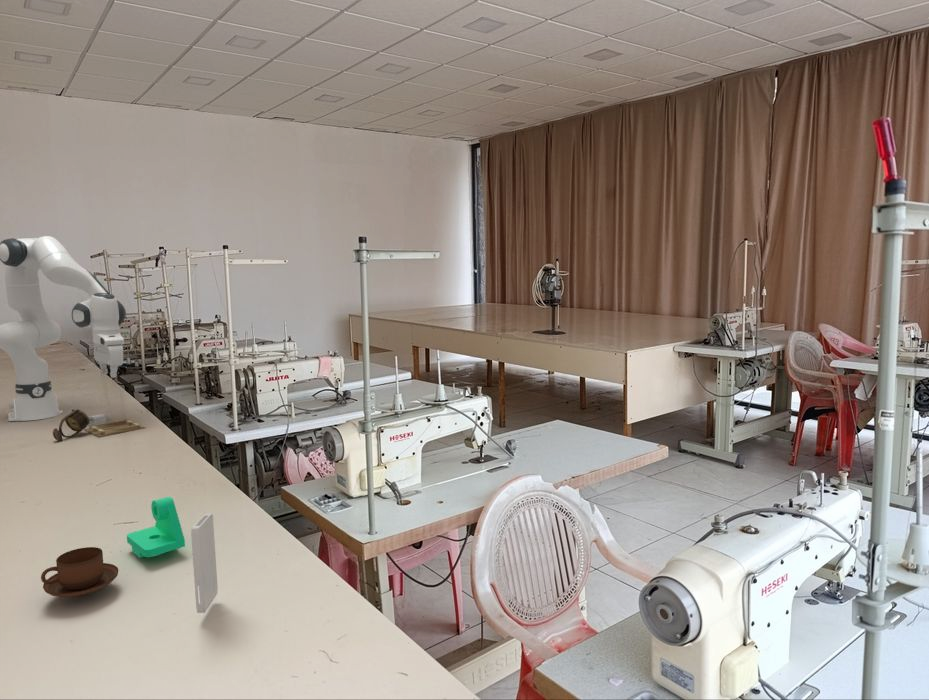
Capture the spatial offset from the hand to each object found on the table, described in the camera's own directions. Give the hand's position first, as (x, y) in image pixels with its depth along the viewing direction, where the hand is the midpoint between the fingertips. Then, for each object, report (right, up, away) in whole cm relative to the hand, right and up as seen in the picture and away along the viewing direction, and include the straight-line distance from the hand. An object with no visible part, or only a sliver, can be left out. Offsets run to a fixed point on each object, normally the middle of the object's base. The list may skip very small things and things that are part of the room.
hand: (109, 375), depth 240 cm
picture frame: (+2, -20, 0) cm, 20 cm away
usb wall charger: (-9, -20, +11) cm, 24 cm away
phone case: (+85, -35, -126) cm, 156 cm away
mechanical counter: (-7, -22, -9) cm, 25 cm away
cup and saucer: (+60, -35, -119) cm, 137 cm away
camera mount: (+65, -33, -102) cm, 126 cm away
